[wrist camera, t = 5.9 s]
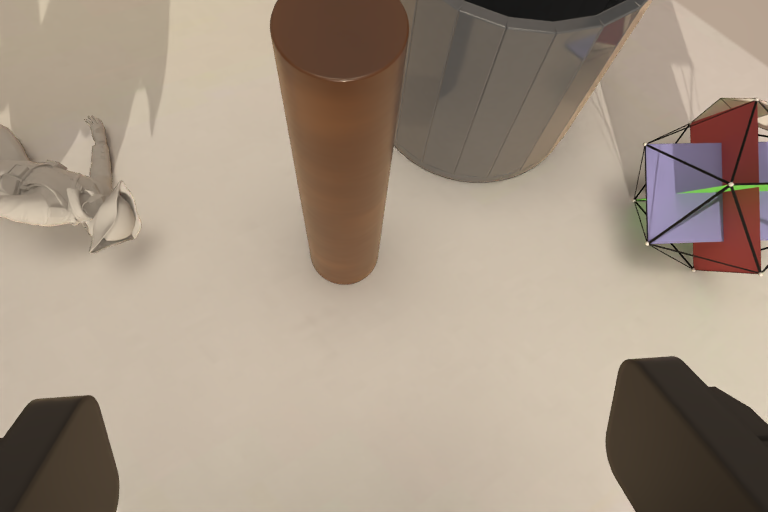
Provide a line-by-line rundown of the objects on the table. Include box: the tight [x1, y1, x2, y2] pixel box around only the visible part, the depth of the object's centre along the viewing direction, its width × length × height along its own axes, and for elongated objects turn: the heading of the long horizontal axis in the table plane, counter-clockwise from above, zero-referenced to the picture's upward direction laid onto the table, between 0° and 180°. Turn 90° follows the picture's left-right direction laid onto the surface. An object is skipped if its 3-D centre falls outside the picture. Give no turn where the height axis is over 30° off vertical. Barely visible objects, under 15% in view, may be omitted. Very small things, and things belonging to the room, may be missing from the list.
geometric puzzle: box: [632, 98, 768, 276], centre depth 24 cm, size 7×7×8 cm
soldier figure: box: [0, 116, 142, 253], centre depth 24 cm, size 8×5×12 cm
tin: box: [394, 0, 653, 182], centre depth 24 cm, size 10×10×10 cm
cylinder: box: [270, 0, 409, 284], centre depth 19 cm, size 3×3×14 cm
